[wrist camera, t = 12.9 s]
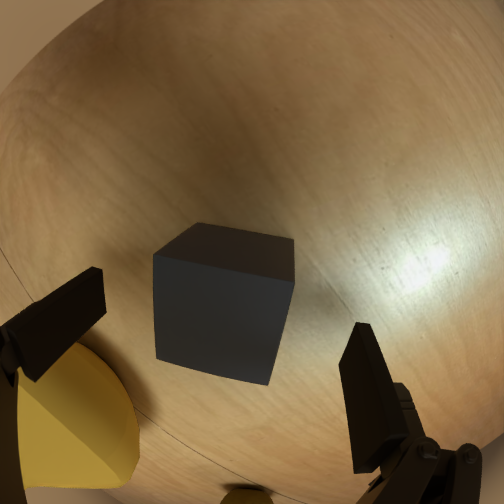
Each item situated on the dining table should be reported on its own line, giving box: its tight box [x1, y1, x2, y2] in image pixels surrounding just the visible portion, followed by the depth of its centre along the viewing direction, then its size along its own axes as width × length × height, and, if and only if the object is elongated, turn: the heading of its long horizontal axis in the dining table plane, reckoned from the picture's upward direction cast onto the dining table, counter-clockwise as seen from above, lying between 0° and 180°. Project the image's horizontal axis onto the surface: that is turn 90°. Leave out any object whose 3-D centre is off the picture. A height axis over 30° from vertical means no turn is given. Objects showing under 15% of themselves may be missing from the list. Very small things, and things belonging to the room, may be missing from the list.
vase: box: [17, 342, 140, 490], centre depth 15 cm, size 18×18×19 cm
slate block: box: [153, 222, 295, 386], centre depth 15 cm, size 6×6×6 cm
